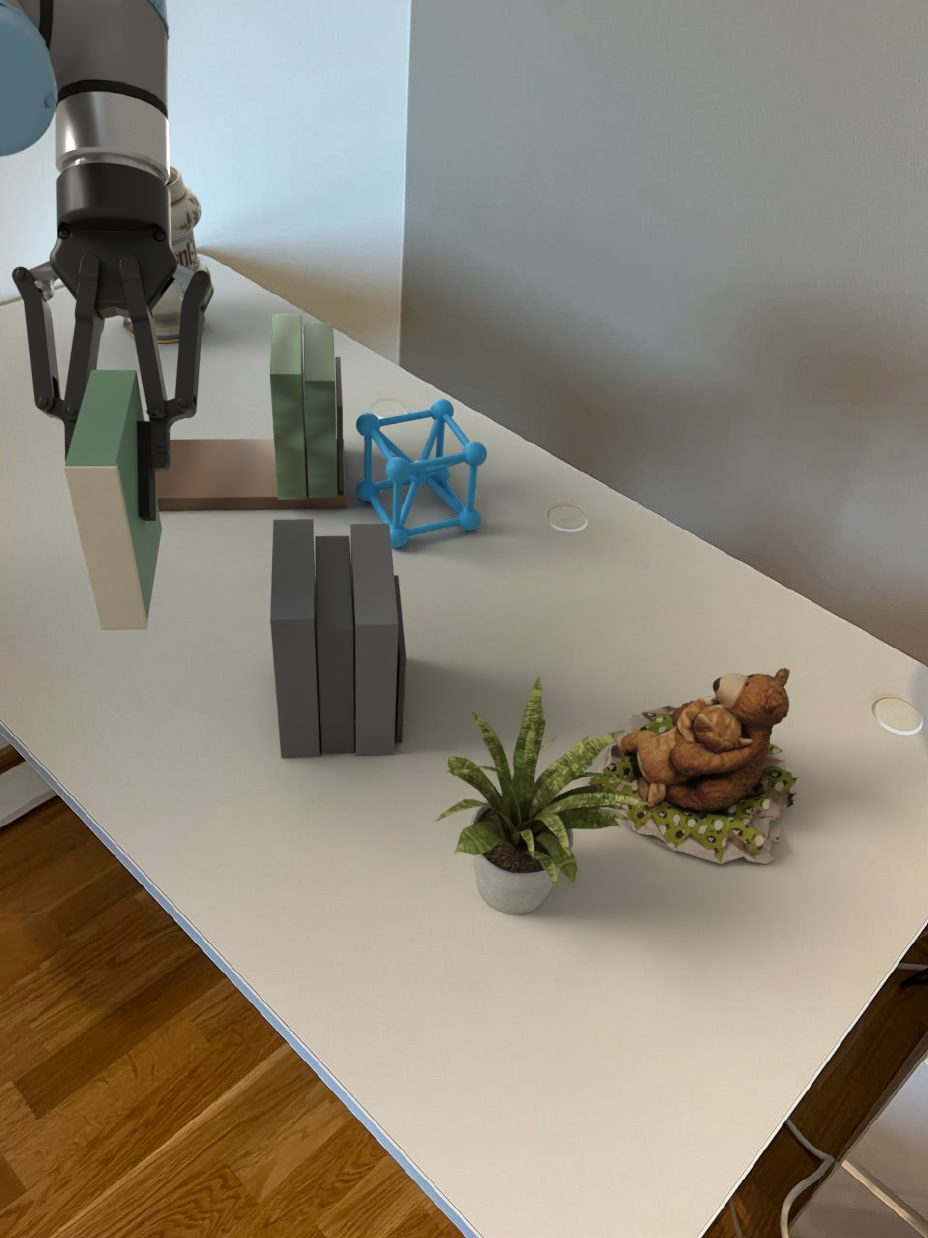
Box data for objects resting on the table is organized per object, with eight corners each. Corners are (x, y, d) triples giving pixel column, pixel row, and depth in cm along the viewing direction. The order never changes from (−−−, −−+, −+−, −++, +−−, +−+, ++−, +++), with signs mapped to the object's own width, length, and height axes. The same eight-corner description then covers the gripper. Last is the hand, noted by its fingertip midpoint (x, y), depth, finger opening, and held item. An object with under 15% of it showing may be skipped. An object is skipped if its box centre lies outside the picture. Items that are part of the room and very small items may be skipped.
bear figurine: (630, 695, 91) (658, 589, 82) (804, 762, 87) (852, 657, 78) (572, 812, 81) (597, 705, 73) (764, 892, 77) (813, 790, 69)
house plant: (515, 1035, 68) (546, 897, 57) (366, 899, 75) (367, 751, 64) (645, 897, 76) (694, 752, 65) (500, 785, 83) (523, 636, 72)
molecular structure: (389, 554, 102) (390, 469, 95) (352, 494, 108) (352, 410, 101) (483, 532, 105) (492, 448, 98) (443, 475, 112) (448, 392, 105)
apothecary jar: (97, 313, 131) (69, 164, 118) (188, 291, 137) (170, 146, 124) (139, 358, 124) (114, 205, 112) (232, 332, 130) (219, 184, 117)
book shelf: (118, 514, 103) (90, 373, 93) (131, 448, 111) (107, 311, 101) (346, 511, 106) (345, 374, 96) (343, 447, 114) (342, 314, 103)
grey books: (281, 759, 83) (270, 620, 73) (283, 656, 91) (273, 518, 81) (403, 754, 84) (409, 617, 74) (394, 653, 92) (399, 516, 82)
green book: (101, 631, 74) (63, 466, 65) (121, 529, 82) (90, 369, 72) (146, 630, 75) (115, 466, 65) (162, 529, 83) (137, 369, 73)
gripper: (236, 205, 79) (242, 523, 78) (8, 199, 77) (13, 525, 76) (226, 160, 71) (233, 511, 71) (-26, 152, 69) (-21, 513, 69)
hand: (119, 518), depth 74 cm, fingers closed on green book, 3 cm apart
